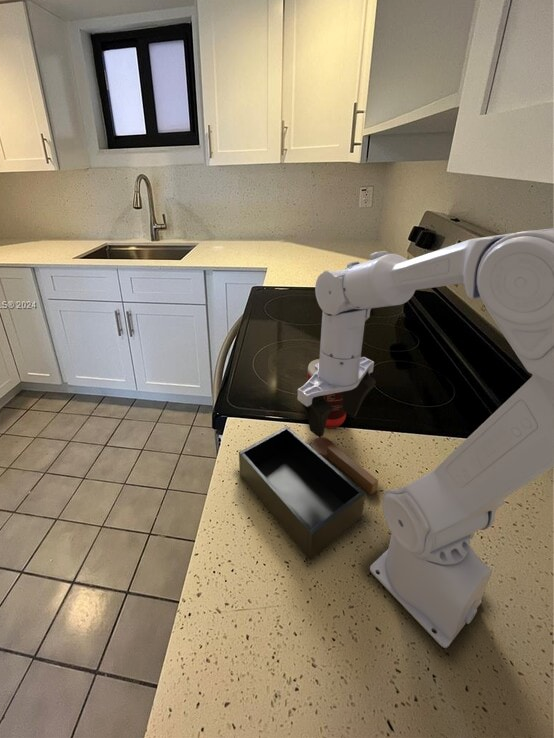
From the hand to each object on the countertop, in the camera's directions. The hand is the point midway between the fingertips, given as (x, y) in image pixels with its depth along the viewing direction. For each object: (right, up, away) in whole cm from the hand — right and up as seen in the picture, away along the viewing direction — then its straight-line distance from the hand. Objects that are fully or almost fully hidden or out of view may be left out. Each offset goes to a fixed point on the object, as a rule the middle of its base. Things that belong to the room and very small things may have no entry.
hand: (333, 423), depth 56 cm
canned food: (+3, -3, +14) cm, 15 cm away
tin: (-6, -11, -2) cm, 12 cm away
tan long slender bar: (+2, -8, +3) cm, 9 cm away
